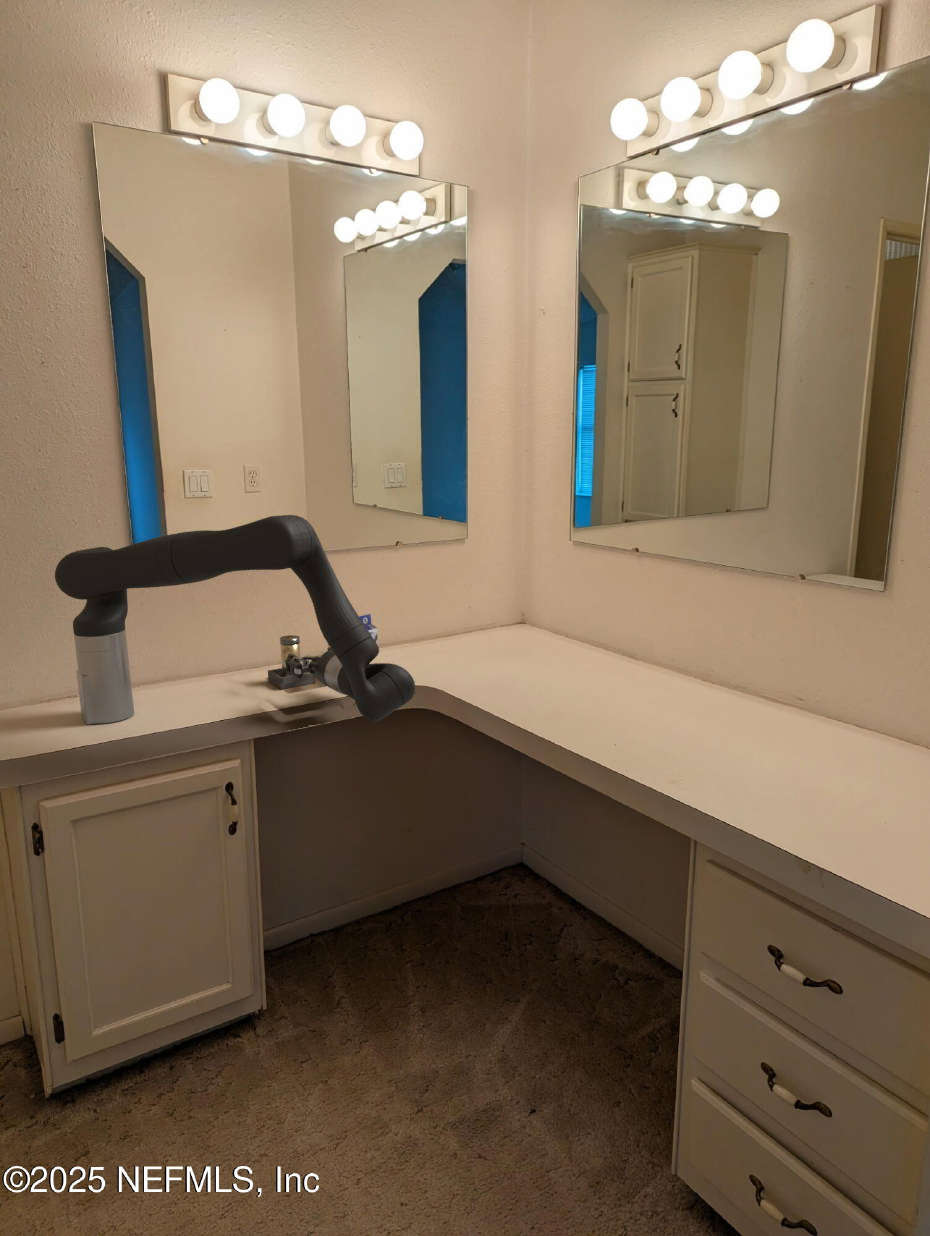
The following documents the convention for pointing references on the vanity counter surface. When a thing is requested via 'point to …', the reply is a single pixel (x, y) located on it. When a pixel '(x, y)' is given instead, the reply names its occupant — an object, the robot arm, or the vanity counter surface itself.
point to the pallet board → (293, 681)
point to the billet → (289, 650)
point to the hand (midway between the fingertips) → (309, 655)
